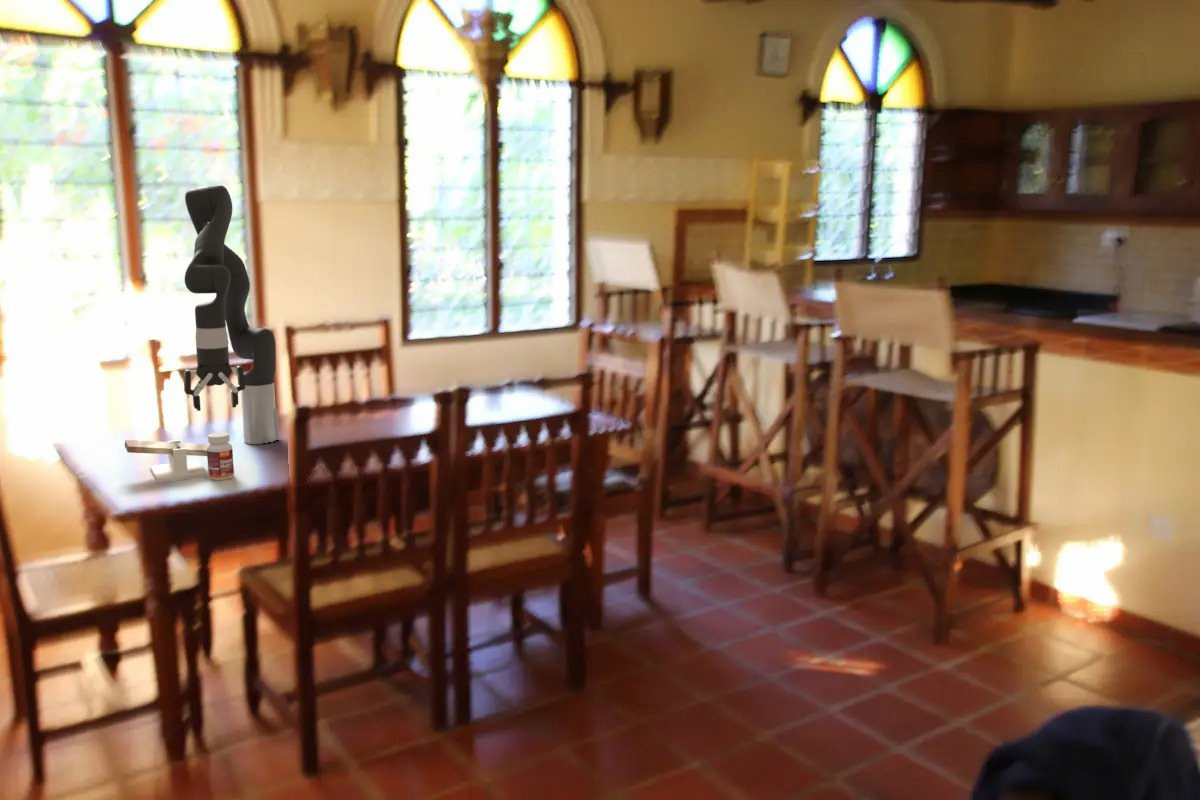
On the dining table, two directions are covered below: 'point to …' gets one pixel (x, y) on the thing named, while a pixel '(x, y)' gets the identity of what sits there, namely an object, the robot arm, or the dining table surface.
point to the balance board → (164, 447)
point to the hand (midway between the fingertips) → (216, 408)
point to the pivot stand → (178, 467)
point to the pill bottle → (220, 456)
